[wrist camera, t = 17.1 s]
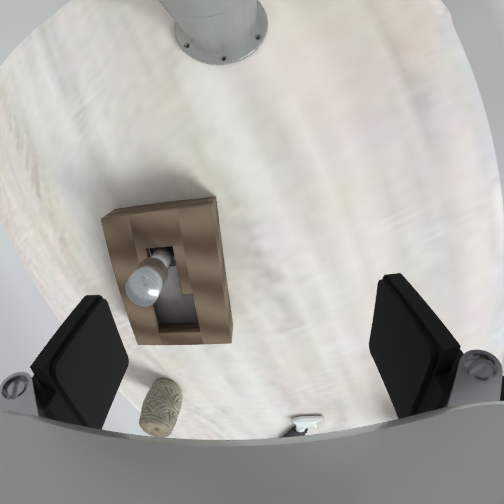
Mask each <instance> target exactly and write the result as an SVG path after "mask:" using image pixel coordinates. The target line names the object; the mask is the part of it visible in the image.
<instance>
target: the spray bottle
mask: <svg viewBox="0 0 504 504" xmlns="http://www.w3.org/2000/svg"><path fill="white" fill-rule="evenodd" d="M319 420H324V416H299V417H295V418H292V422H293V423H294V424H296V427H294V428H292V429H291V430H290V431H289V432H288V433H287V434H286V435H285V436H284V437H295V436H304V435H305V433H307V431H308V429H307V428H308V427H309V426H311V425H313V426H314V427H315V428H316V429H318V428H317V425H316V423H317V422H318V421H319ZM284 437H283V438H284Z"/></svg>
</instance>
